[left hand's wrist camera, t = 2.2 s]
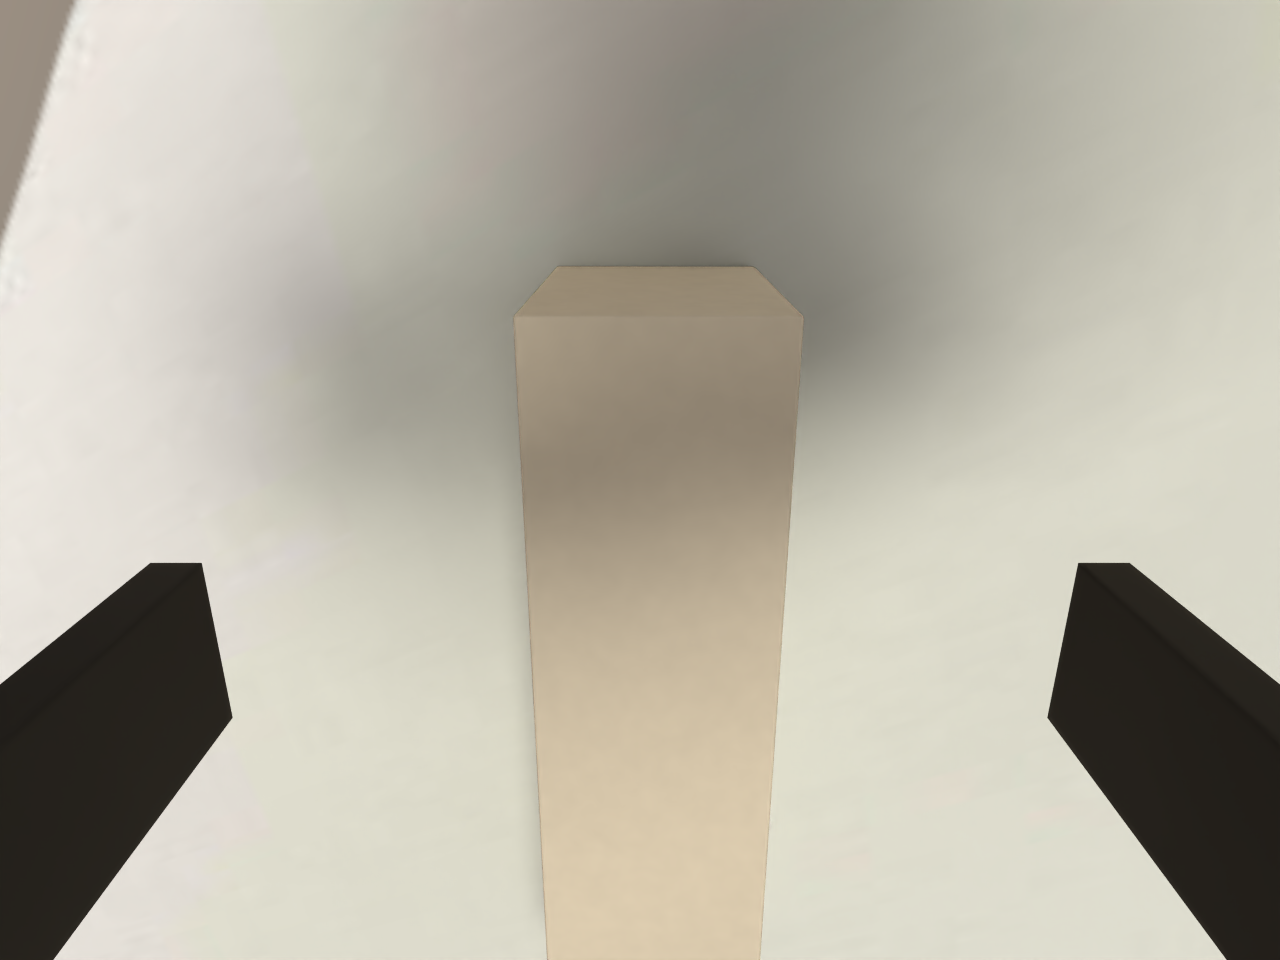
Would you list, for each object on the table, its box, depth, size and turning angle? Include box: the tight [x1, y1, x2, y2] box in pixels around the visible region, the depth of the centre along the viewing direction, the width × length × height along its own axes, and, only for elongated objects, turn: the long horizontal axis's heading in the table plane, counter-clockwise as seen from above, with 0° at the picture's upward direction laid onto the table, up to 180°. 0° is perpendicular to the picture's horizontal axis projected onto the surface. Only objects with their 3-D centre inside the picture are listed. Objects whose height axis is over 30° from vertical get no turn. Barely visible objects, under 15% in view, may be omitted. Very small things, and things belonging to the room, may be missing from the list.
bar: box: [513, 266, 804, 960], centre depth 26 cm, size 25×6×9 cm, turn 0°
